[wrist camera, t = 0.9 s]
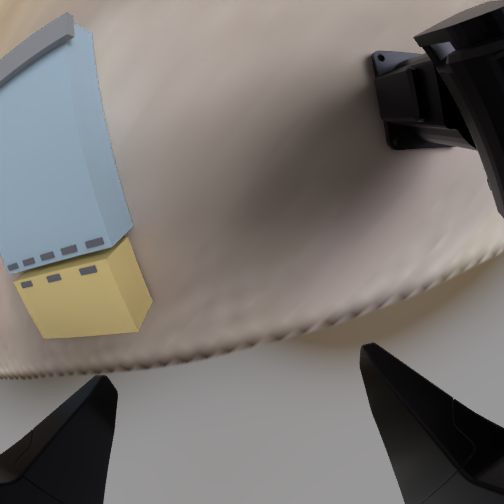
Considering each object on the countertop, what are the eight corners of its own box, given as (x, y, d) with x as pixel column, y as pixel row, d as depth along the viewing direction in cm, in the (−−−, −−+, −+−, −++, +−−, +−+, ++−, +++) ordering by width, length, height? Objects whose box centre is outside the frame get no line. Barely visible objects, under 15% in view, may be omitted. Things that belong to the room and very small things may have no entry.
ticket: (99, 28, 12) (66, 9, 8) (141, 224, 18) (115, 250, 14) (-8, 99, 13) (-44, 101, 9) (29, 256, 18) (-1, 281, 14)
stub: (128, 236, 18) (105, 259, 14) (152, 301, 20) (137, 332, 16) (38, 261, 18) (12, 282, 15) (63, 314, 20) (43, 339, 17)
